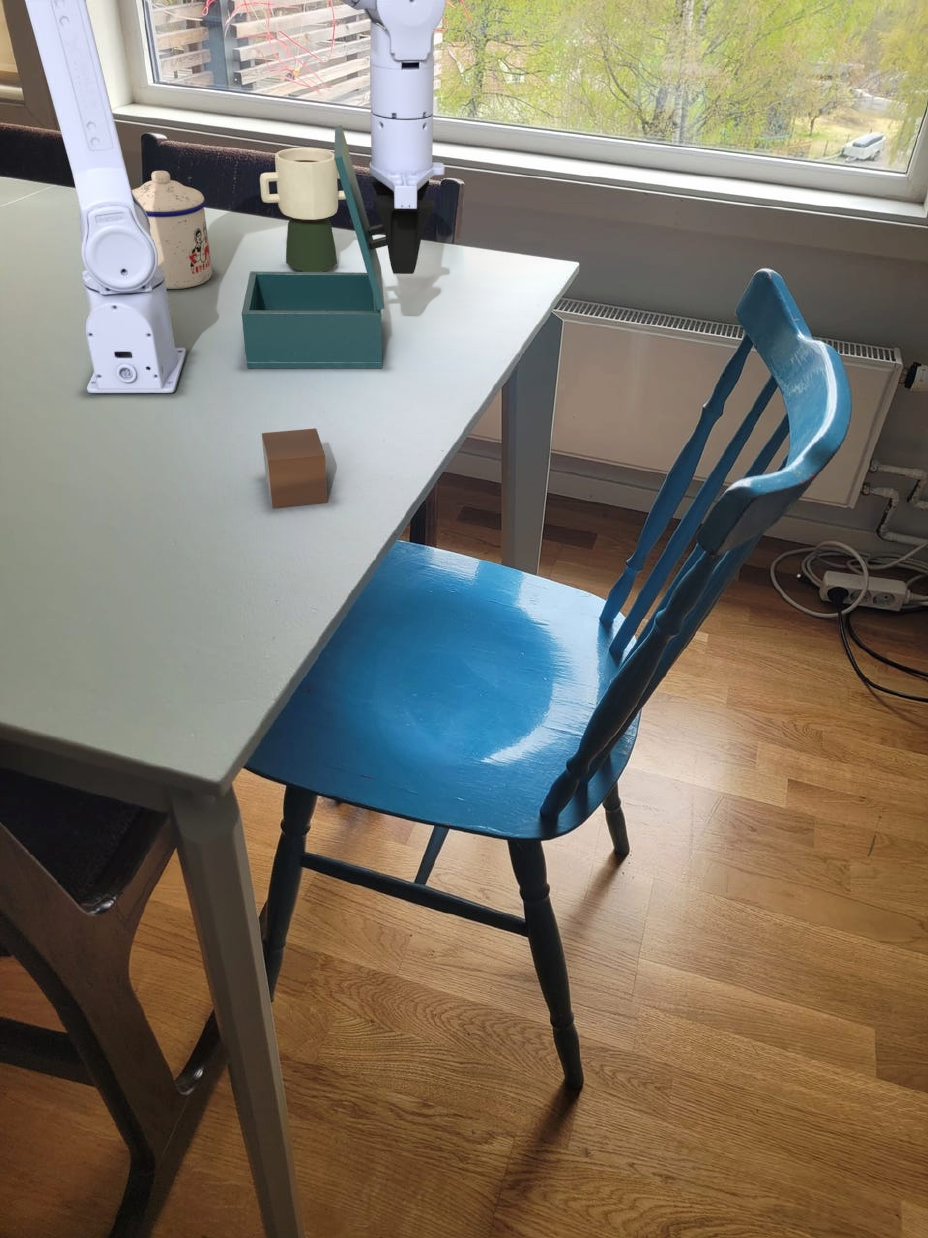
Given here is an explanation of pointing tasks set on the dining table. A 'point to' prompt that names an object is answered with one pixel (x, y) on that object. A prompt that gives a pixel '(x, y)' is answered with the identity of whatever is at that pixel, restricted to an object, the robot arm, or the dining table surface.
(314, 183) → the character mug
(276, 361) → the teal wooden box
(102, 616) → the dining table surface
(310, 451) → the block
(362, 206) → the lid
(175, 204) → the teacup with lid
